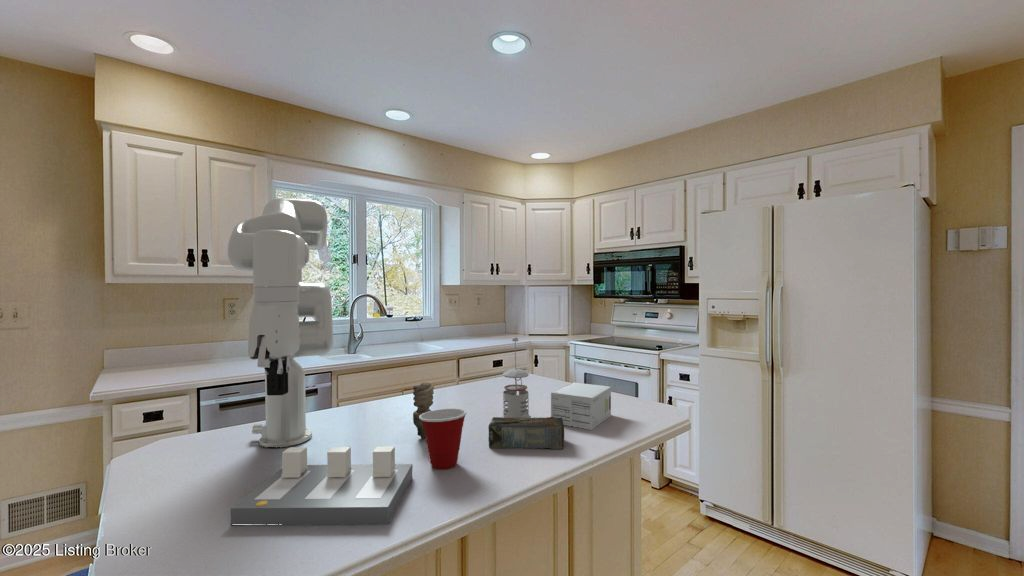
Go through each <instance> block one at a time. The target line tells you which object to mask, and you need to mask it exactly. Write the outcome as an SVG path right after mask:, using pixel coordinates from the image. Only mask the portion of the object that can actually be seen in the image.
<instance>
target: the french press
mask: <svg viewBox="0 0 1024 576" xmlns="http://www.w3.org/2000/svg"><path fill="white" fill-rule="evenodd" d="M511 341H512V342H514V368H511V369H508V370H506V371H504V372H503V373H502V376H503V377H505V378H509V379H514V382H515V384H508V385H505V386H504V390H503V391H502V397H503V399H502V402H503V403H502V405H503V406H502V407H503V409H502V411H503V412H502V413H503V415H501V417H502V418H531V417H532V416H531V415H530V413H529V412H530V411H529V407H530V406H529V405H530V404H529V403H530V402H529V401H530V400H529V396H530V395H529V391H528V390H527V389H528V386H527V385H525V384H523V380H522V378H527V377H528V376H530V373H529V372H528V371H526V370H523V369H521V368H517V366H516V365H517V361H516V360H517V358H516V356H517V354H516V352H517V351H516V348H517V347H516V345H517V344H516V342H519V338H518V337H515V336H514V337H512V340H511ZM518 381H520V384H518ZM517 392H518V394H517Z"/></svg>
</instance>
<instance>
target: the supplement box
mask: <svg viewBox="0 0 1024 576" xmlns="http://www.w3.org/2000/svg"><path fill="white" fill-rule="evenodd" d="M611 415H612V387H611V386H607V385H600V384H590V383H582V382H571V383H570V384H567V385H566V386H563V387H561V388H559V389H557V390H555V391H552V392H551V393H550V417H555V418H561V417H562V420H563V425H564V426H566V425H567V427H571V426H573V428H577V427H579V428H578V429H582V428H584V429H583V430H588V429H590V430H589V431H592V430H594V429H595V428H596V427H598V426H599V425H600V424H602V423H603V422H605V420H607V419H608V418H609V417H611ZM601 422H602V423H601ZM597 425H598V426H597Z"/></svg>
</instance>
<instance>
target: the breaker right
mask: <svg viewBox="0 0 1024 576" xmlns="http://www.w3.org/2000/svg"><path fill="white" fill-rule="evenodd" d="M395 449H396V448H395V445H394V446H391V445H390V446H376V447H375V448H374V449H373V451H372V464H373V474H372V477H391V475H392V474H393V472H394V471H395V464H396V462H395V461H396V458H395V457H396V452H395V451H396V450H395Z"/></svg>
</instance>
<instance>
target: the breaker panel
mask: <svg viewBox="0 0 1024 576" xmlns="http://www.w3.org/2000/svg"><path fill="white" fill-rule="evenodd" d="M307 467H308V470H307V471H306V472H305V473H304V474H303V475H302V476H301V477H294V478H281V474H282V467H281V468H280V469H279V470H277V471H276V472H275V473H274V474H272V475H271V476H270V477H269V478H267V479H266V480H265V481H264V482H262V483H261V484H260V485H259V486H257V487H256V488H255V489H254V490H252V491H250V493H249V494H247V495H246V496H245V497H243V498H242V499H241V500H239V501H238V502H237V503H236V504H235V505H233V506H231V508H230V525H231V524H266V525H265V526H268V525H267V524H278V525H277V526H280V525H279V524H282V525H281V526H344V525H345V526H347V525H349V526H353V525H355V526H356V525H358V526H359V525H370V526H372V525H389V523H390V521H391V520H392V518H393V516H394V514H395V512H396V510H397V509H398V506H399V504H400V503H401V501H402V499H403V497H404V495H405V493H406V491H407V489H408V487H409V485H410V484H411V482H412V479H413V464H412V463H395V471H394V472H393V474H392V475H391V477H372V474H373V463H372V464H367V463H366V464H351V467H352V470H351V471H350V472H349V473H348V474H347V475H346V477H327V473H328V466H327V464H307Z"/></svg>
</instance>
